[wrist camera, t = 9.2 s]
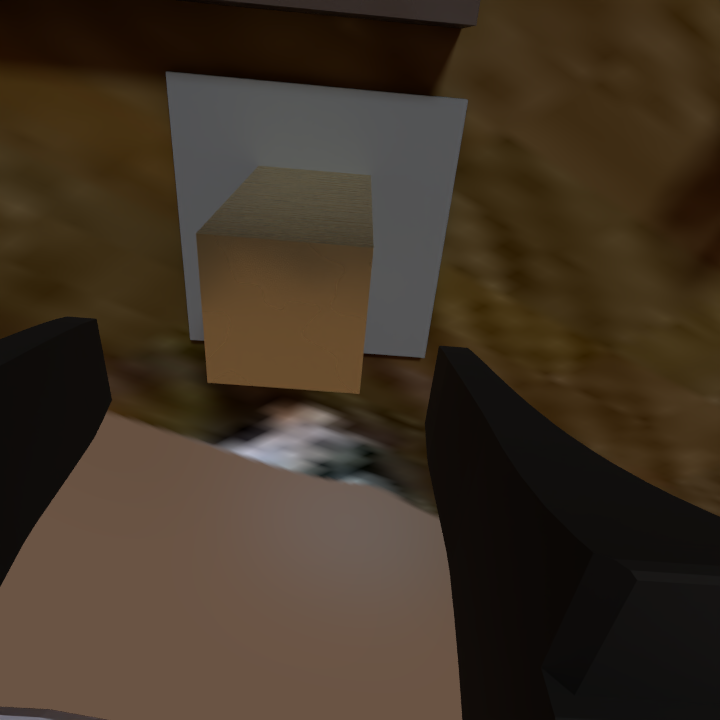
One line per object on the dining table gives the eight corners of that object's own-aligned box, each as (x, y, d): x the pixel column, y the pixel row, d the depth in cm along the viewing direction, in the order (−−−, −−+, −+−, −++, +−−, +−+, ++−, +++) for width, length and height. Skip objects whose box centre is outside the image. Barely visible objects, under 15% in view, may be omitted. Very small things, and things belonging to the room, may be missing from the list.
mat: (192, 335, 23) (190, 339, 22) (169, 71, 18) (165, 71, 17) (423, 353, 23) (424, 357, 23) (465, 99, 18) (467, 100, 18)
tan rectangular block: (260, 271, 21) (207, 382, 14) (258, 165, 19) (195, 233, 12) (361, 280, 21) (359, 393, 14) (371, 175, 19) (373, 248, 12)
